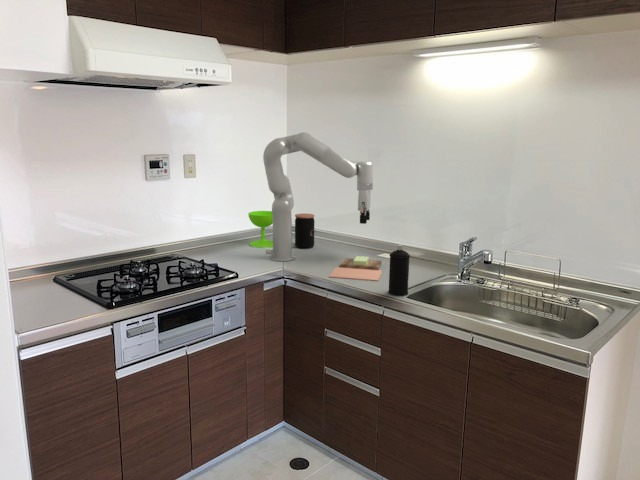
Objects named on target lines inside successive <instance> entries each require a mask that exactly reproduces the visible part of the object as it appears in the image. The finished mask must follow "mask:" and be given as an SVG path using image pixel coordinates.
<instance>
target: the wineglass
mask: <svg viewBox="0 0 640 480" xmlns="http://www.w3.org/2000/svg"><path fill="white" fill-rule="evenodd" d="M248 218H249V221H250V222H251V223H252V224H253V225H254V226H255V227H259V228H261V229H260V231H261V232H260V235H261V239H257V240H253V241H251V242H249V244H250V245H251V246H255V247H269V248H273V240H270V239H266V237H265V236H266V232H265V231H266V229H265V228H267V227H270V226H271V225H272V226H273V219H272V210H256V211H250V212H248ZM251 246H250V247H251ZM255 247H254V248H255Z"/></svg>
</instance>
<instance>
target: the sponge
mask: <svg viewBox="0 0 640 480" xmlns="http://www.w3.org/2000/svg"><path fill="white" fill-rule="evenodd" d="M353 259H354V261H353V265H365V266H366V265H367V263H368V261H369V260H370V257H369V256H364V255H363V256H362V255H360V256H358V255H356V256H355V258H353Z"/></svg>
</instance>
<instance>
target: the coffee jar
mask: <svg viewBox="0 0 640 480" xmlns="http://www.w3.org/2000/svg"><path fill="white" fill-rule="evenodd" d="M294 217H295V219H294V245H295V247H296V248H297V249H301V250H309V249H313V248H314V246H315V219H314V218H315V214H313V213H297V214H295V215H294Z"/></svg>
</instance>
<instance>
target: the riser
mask: <svg viewBox="0 0 640 480" xmlns="http://www.w3.org/2000/svg"><path fill="white" fill-rule="evenodd" d="M354 259H355V258H349V257H347V258H346V257H345V258H344V259H343V260H342V262H341V263H340V267H343V268H356V269H370V270H381V267H382V260H378V259H377V260H375V259H369V261H368V263H367V265H366V266H365V265H353V261H354Z"/></svg>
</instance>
